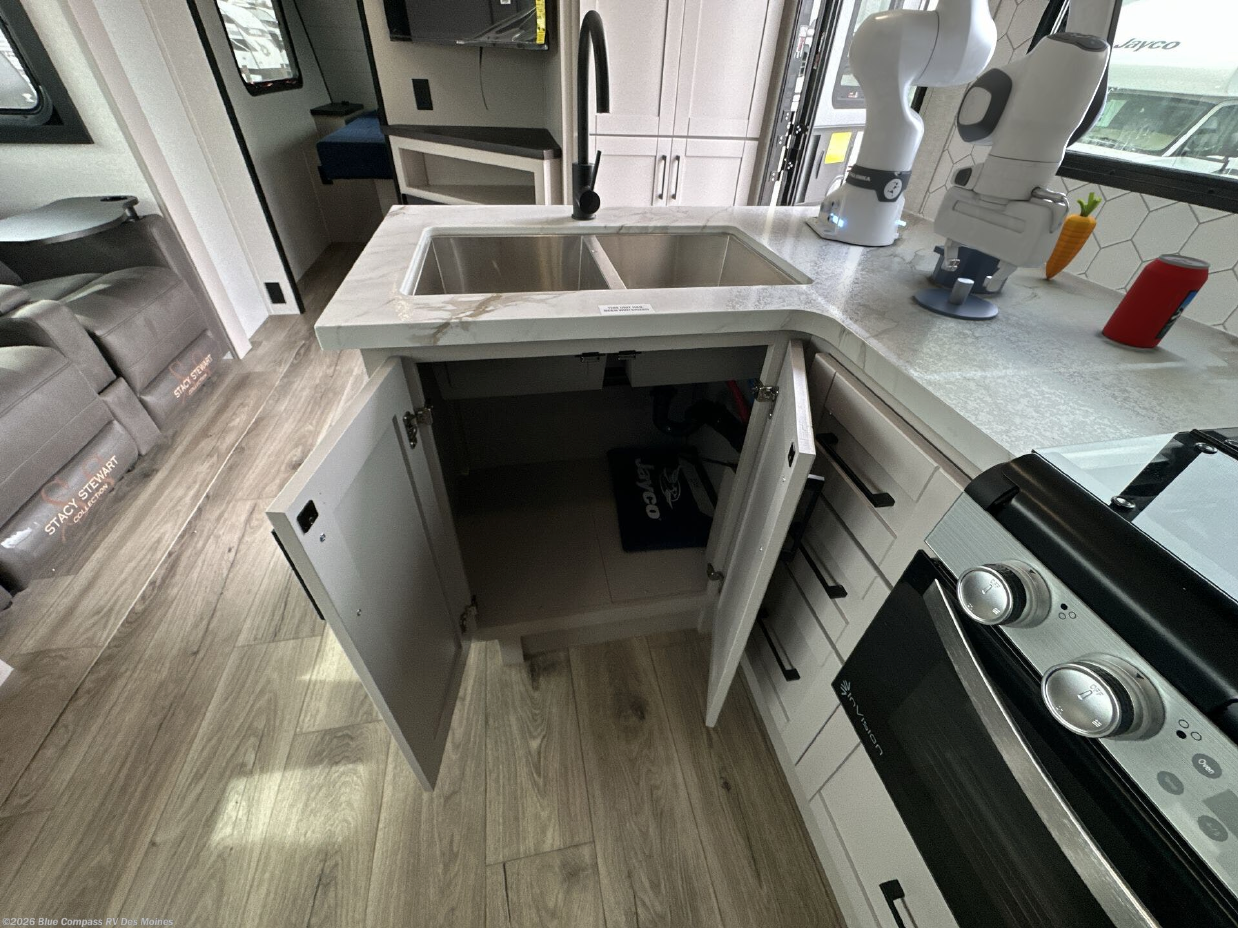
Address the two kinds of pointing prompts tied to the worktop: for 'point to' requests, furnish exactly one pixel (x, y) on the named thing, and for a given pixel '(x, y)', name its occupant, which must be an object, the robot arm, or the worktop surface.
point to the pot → (967, 269)
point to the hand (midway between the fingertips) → (967, 279)
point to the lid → (956, 302)
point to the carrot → (1072, 236)
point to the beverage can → (1156, 300)
